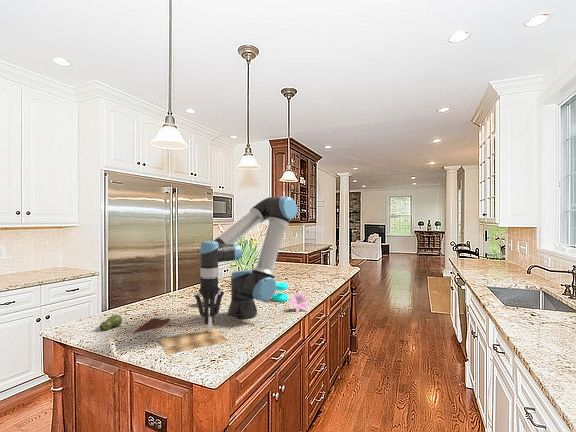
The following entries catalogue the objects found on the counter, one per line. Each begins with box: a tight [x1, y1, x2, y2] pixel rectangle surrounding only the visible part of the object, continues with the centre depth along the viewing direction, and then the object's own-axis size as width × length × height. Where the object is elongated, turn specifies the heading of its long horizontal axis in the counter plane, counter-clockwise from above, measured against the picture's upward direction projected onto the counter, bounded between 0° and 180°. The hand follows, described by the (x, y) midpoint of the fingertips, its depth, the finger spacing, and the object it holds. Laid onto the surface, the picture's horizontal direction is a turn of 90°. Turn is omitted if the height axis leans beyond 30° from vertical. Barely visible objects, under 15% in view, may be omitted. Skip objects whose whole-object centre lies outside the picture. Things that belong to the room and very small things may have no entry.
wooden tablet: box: [132, 317, 171, 334], centre depth 149 cm, size 27×10×2 cm, turn 176°
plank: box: [158, 327, 222, 349], centre depth 135 cm, size 24×8×1 cm, turn 123°
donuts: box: [271, 282, 289, 302], centre depth 199 cm, size 10×10×10 cm
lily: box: [287, 289, 310, 313], centre depth 179 cm, size 12×12×10 cm
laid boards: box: [162, 334, 229, 356], centre depth 128 cm, size 24×7×1 cm, turn 123°
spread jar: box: [201, 283, 222, 307], centre depth 189 cm, size 12×11×12 cm
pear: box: [99, 314, 123, 332], centre depth 150 cm, size 6×5×10 cm
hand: (209, 331), depth 141 cm, fingers closed
